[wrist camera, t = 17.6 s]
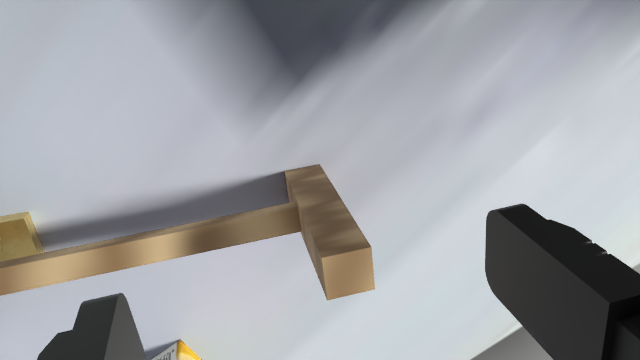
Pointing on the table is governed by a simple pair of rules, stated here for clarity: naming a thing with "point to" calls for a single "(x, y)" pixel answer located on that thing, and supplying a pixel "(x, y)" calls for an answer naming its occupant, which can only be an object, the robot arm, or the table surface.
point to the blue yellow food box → (177, 353)
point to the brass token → (18, 237)
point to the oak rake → (223, 242)
